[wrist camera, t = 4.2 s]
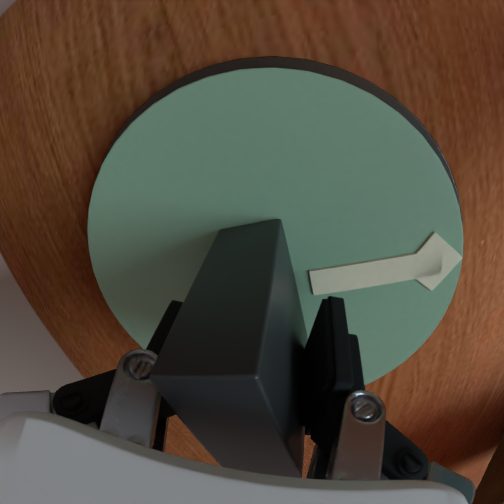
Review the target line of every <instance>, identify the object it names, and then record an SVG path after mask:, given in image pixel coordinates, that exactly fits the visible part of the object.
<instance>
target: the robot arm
mask: <svg viewBox="0 0 504 504" xmlns="http://www.w3.org/2000/svg"><path fill="white" fill-rule="evenodd" d="M182 304H183V302H180V301H176V300H172V301H171V302H170V304H169V306H168V308H167V309H166V311H165V313H164V315H163V317H162V319H161V321H160V323H159V325H158V326H157V328H156V330H155V332H154V334H153V336H152V338H151V340H150V342H149V344H148V346H147V348H146V349H135V350H131V351H129V352H127V353H125V354H124V355H123V356H122V357H121V359H120V361H119V363H118V366H117V369H114V370H111V371H108V372H105V373H102V374H99V375H96V376H93V377H89V378H86V379H83V380H80V381H77V382H73V383H70V384H67V385H65V386H62V387H61V388H59V389H58V390H57V391H56V392H55V393H51V392H50V391H49V390H45V391H30V392H12V393H11V392H10V393H3V394H1V395H0V504H472V503H473V500H474V497H475V486H474V484H473V482H472V481H471V480H469V479H468V478H466V477H464V476H462V475H460V474H458V473H456V472H454V471H452V470H450V469H448V468H446V467H444V466H442V465H440V464H438V463H436V462H434V461H433V462H432V463H429V462H428V459H427V457H426V455H425V454H424V452H423V451H422V450H421V449H419V448H418V447H417V446H416V445H415V444H414V443H412V442H411V441H410V440H409V439H408V438H406V437H405V436H404V435H403V434H402V433H401V432H399V431H398V430H397V429H396V428H395V427H394V426H392V425H391V424H390V423H389V422H388V421H387V420H386V408H385V405H384V403H383V401H382V400H381V398H380V397H379V396H377V395H376V394H374V393H372V392H370V391H366V390H365V386H364V378H363V370H362V363H361V355H360V348H359V342H358V337H357V335H354V334H349V333H348V325H347V318H346V311H345V304H344V299H343V298H340V297H334V296H328V298H327V299H322V301H321V304H320V307H319V310H318V313H317V315H316V318H315V321H314V324H313V326H312V329H311V332H310V335H309V337H308V340H307V343H306V345H305V349H304V379H303V403H302V422H301V426H303V427H305V435H311V439H312V440H313V441H314V442H315V443H316V444H315V447H314V451H313V455H312V459H311V462H310V466H309V470H308V474H307V477H306V478H294V477H285V476H276V475H268V474H261V473H254V472H248V471H242V470H236V469H231V468H226V467H221V466H216V465H211V464H207V463H203V462H198V461H194V460H190V459H186V458H182V457H179V456H175V455H171V454H168V453H165V445H166V437H167V429H168V422H169V417H171V416H173V415H175V414H176V413H175V412H174V410H173V409H172V408H171V407H170V405H169V404H168V403H167V401H166V400H165V399H164V398H163V396H162V395H161V394H160V392H159V391H158V390H157V388H156V387H155V386H154V384H153V383H152V381H151V380H150V378H149V375H150V373H151V370H152V368H153V366H154V364H155V362H156V359H157V357H158V355H159V353H160V351H161V349H162V346H163V344H164V342H165V340H166V338H167V336H168V334H169V332H170V329H171V327H172V325H173V323H174V321H175V319H176V317H177V315H178V313H179V310H180V308H181V306H182Z"/></svg>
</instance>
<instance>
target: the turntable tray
mask: <svg viewBox="0 0 504 504" xmlns="http://www.w3.org/2000/svg"><path fill="white" fill-rule="evenodd" d="M87 233H88V246H89V254H90V258H91V263H92V267H93V271H94V274H95V277H96V280H97V282H98V285H99V288H100V290H101V292H102V294H103V296H104V298H105V300H106V302H107V304H108V306H109V308H110V309H111V311H112V312H113V314H114V315H115V317H116V318H117V320H118V321H119V323H120V324H121V325H122V326H123V328H124V329H125V330H126V331H127V332H128V334H129V335H130V336H131V337H132V338H133V339H134V340H135V341H136V342H137V343H138V344H139V345H140V346H141V347H142V348H143V349H146V348H147V346H148V344H149V342H150V340H151V338H152V336H153V334H154V332H155V330H156V328H157V326H158V325H159V323H160V321H161V319H162V317H163V315H164V313H165V311H166V309H167V308H168V306H169V304H170V302H171V301H172V300H176V301H180V302H183V304H182V306H181V308H180V310H179V313H178V315H177V317H176V319H175V321H174V323H173V325H172V327H171V329H170V332H169V334H168V336H167V338H166V340H165V342H164V344H163V346H162V349H161V351H160V353H159V355H158V357H157V359H156V362H155V364H154V366H153V368H152V370H151V373H150V375H149V378H150V380H151V381H152V383H153V384H154V386H155V387H156V388H157V390H158V391H159V392H160V394H161V395H162V396H163V398H164V399H165V400H166V401H167V403H168V404H169V405H170V407H171V408H172V409H173V410H174V412H175V413H176V414H177V415H178V417H179V418H180V419H181V420H182V422H183V423H184V424H185V425H186V426H187V428H188V429H189V430H190V431H191V432H192V434H193V435H194V436H195V437H196V438H197V439H198V441H199V442H200V443H201V444H202V445H203V446H204V447H205V449H206V450H207V451H208V452H209V453H210V454H211V455H212V456H213V457H214V459H215V460H216V461H217V462H218V463H219V464H220V465H221V466H222V467H226V468H231V469H236V470H242V471H248V472H254V473H261V474H268V475H276V476H285V477H294V478H301V477H302V469H303V454H304V437H305V427H303V426H301V422H302V403H303V379H304V349H305V345H306V343H307V340H308V337H309V335H310V332H311V329H312V326H313V324H314V321H315V318H316V315H317V313H318V310H319V307H320V304H321V301H322V299H327V298H328V296H334V297H340V298H343V299H344V304H345V311H346V318H347V325H348V333H349V334H354V335H357V337H358V342H359V348H360V355H361V363H362V370H363V378H364V385H366V384H368V383H370V382H373V381H374V380H376V379H378V378H380V377H382V376H383V375H385V374H387V373H389V372H390V371H392V370H393V369H394V368H396V367H397V366H399V365H400V364H401V363H403V362H404V361H405V360H406V359H408V358H409V357H410V356H411V355H412V354H413V353H414V352H415V351H416V350H418V349H419V348H420V346H421V345H422V344H423V343H424V342H425V341H426V340H427V338H428V337H429V336H430V335H431V334H432V332H433V331H434V330H435V328H436V327H437V325H438V324H439V322H440V321H441V319H442V318H443V316H444V314H445V312H446V310H447V308H448V306H449V304H450V302H451V300H452V297H453V294H454V291H455V288H456V285H457V282H458V279H459V275H460V269H461V263H462V257H463V228H462V221H461V214H460V208H459V204H458V201H457V198H456V195H455V191H454V188H453V185H452V183H451V180H450V178H449V176H448V174H447V172H446V170H445V168H444V167H443V165H442V163H441V161H440V159H439V157H438V156H437V155H436V153H435V152H434V150H433V149H432V148H431V146H430V145H429V144H428V142H427V141H426V140H425V138H424V137H423V136H422V134H421V133H420V132H419V131H418V130H417V129H416V128H415V127H414V126H412V125H411V124H410V123H409V122H408V121H407V120H406V119H405V118H404V117H403V116H402V115H401V114H400V113H399V112H397V111H396V110H394V109H393V108H392V107H390V106H389V105H387V104H386V103H384V102H383V101H381V100H380V99H378V98H377V97H375V96H374V95H372V94H370V93H368V92H366V91H364V90H362V89H360V88H358V87H356V86H353V85H351V84H349V83H347V82H344V81H342V80H339V79H336V78H332V77H329V76H325V75H321V74H318V73H314V72H310V71H304V70H295V69H286V68H275V67H271V68H252V69H239V70H234V71H230V72H225V73H221V74H217V75H212V76H208V77H205V78H203V79H200V80H198V81H195V82H193V83H190V84H188V85H185V86H183V87H181V88H178V89H177V90H175V91H173V92H172V93H170V94H168V95H167V96H165V97H163V98H162V99H160V100H159V101H157V102H155V103H154V104H152V105H151V106H150V107H149V108H148V109H146V110H145V111H144V112H143V113H142V114H141V115H140V116H138V117H137V118H136V119H135V120H134V121H133V122H132V123H131V124H130V125H129V126H128V127H127V129H126V130H125V131H124V132H123V133H122V135H121V136H120V137H119V138H118V139H117V141H116V142H115V143H114V145H113V147H112V148H111V150H110V152H109V153H108V155H107V157H106V158H105V160H104V162H103V164H102V166H101V168H100V171H99V173H98V176H97V179H96V181H95V184H94V187H93V191H92V195H91V200H90V205H89V210H88V226H87Z"/></svg>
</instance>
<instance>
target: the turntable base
mask: <svg viewBox="0 0 504 504" xmlns="http://www.w3.org/2000/svg"><path fill="white" fill-rule="evenodd" d="M271 67H275V68H286V69H295V70H304V71H310V72H314V73H318V74H321V75H325V76H329V77H332V78H336V79H339V80H342V81H344V82H347V83H349V84H351V85H353V86H356V87H358V88H360V89H362V90H364V91H366V92H368V93H370V94H372V95H374V96H375V97H377V98H378V99H380V100H381V101H383V102H384V103H386V104H387V105H389V106H390V107H392V108H393V109H394V110H396V111H397V112H399V113H400V114H401V115H402V116H403V117H404V118H405V119H406V120H407V121H408V122H409V123H410V124H411V125H412V126H414V127H415V128H416V129H417V130H418V131H419V132H420V133H421V134H422V136H423V137H424V138H425V140H426V141H427V142H428V144H429V145H430V146H431V148H432V149H433V150H434V152H435V153H436V155H437V156H438V157H439V159H440V161H441V163H442V165H443V167H444V168H445V170H446V172H447V174H448V176H449V178H450V180H451V183H452V185H453V188H454V191H455V195H456V198H457V201H458V204H459V208H460V214H461V221H462V212H461V206H460V200H459V195H458V191H457V187H456V184H455V182H454V179H453V176H452V173H451V170H450V167H449V165H448V163H447V162H446V160H445V158H444V156H443V154H442V152H441V150H440V149H439V147H438V145H437V143H436V142H435V140H434V139H433V138H432V136H431V135H430V134H429V132H428V131H427V130H426V129H425V127H424V126H423V125H422V124H421V122H420V121H419V120H418V119H417V118H416V117H415V116H414V115H413V114H412V113H411V112H410V111H409V110H408V109H407V108H406V107H404V106H403V105H402V104H401V103H400V102H399V101H398V100H397V99H396V98H394V97H393V96H391V95H390V94H388V93H387V92H385V91H384V90H382V89H381V88H379V87H378V86H376V85H375V84H373V83H371V82H370V81H368V80H366V79H364V78H361V77H359V76H357V75H355V74H353V73H350V72H348V71H346V70H343V69H341V68H338V67H335V66H331V65H328V64H324V63H320V62H316V61H312V60H308V59H300V58H290V57H278V56H267V57H253V58H241V59H236V60H232V61H227V62H223V63H219V64H215V65H211V66H208V67H205V68H203V69H200V70H198V71H196V72H193V73H191V74H189V75H186V76H184V77H182V78H180V79H178V80H176V81H175V82H173V83H172V84H170V85H168V86H167V87H165V88H164V89H162V90H160V91H159V92H157V93H156V94H155V95H153V96H152V97H151V98H150V99H149V100H148V101H147V102H145V103H144V104H143V105H142V106H141V107H140V108H139V109H138V110H137V111H135V112H134V114H133V115H132V116H131V117H130V118H129V120H128V121H127V122H126V123H125V125H124V126H123V127H122V128H121V129H120V131H119V132H118V134H117V135H116V137H115V139H114V140H113V142H112V144H111V146H110V147H109V149H108V151H107V153H106V155H105V157H104V160H105V158H106V157H107V155H108V153H109V152H110V150H111V148H112V147H113V145H114V143H115V142H116V141H117V139H118V138H119V137H120V136H121V135H122V133H123V132H124V131H125V130H126V129H127V127H128V126H129V125H130V124H131V123H132V122H133V121H134V120H135V119H136V118H137V117H138V116H140V115H141V114H142V113H143V112H144V111H145V110H146V109H148V108H149V107H150V106H151V105H152V104H154V103H155V102H157V101H159V100H160V99H162V98H163V97H165V96H167V95H168V94H170V93H172V92H173V91H175V90H177V89H178V88H181V87H183V86H185V85H188V84H190V83H193V82H195V81H198V80H200V79H203V78H205V77H208V76H212V75H217V74H221V73H225V72H230V71H234V70H239V69H252V68H271ZM104 160H103V162H104ZM103 162H102V164H103ZM101 166H102V165H101ZM100 168H101V167H100ZM99 171H100V170H99ZM98 173H99V172H98ZM97 176H98V175H97Z"/></svg>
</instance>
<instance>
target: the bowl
mask: <svg viewBox="0 0 504 504" xmlns="http://www.w3.org/2000/svg"><path fill="white" fill-rule="evenodd" d="M472 504H504V432H503V434H502V437H501V439H500V442H499V444H498V446H497V448H496V450H495V452H494V454H493V456H492V459H491V461H490V463H489V465H488V467H487V469H486V471H485V474H484V476H483V478H482V480H481V482H480V484H479V486H478V487H477V489H476V491H475V497H474V500H473V503H472Z"/></svg>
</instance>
